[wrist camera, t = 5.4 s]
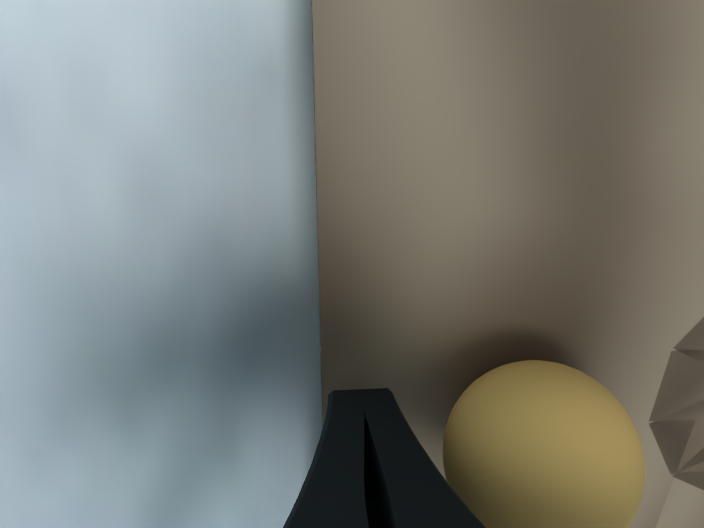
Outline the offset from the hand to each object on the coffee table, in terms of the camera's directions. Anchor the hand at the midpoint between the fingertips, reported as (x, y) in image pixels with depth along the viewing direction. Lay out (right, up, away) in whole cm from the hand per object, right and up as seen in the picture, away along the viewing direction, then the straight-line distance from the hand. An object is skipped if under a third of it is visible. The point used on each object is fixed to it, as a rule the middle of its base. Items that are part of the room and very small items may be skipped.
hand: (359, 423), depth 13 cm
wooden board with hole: (+8, +1, +3) cm, 8 cm away
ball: (+4, 0, -1) cm, 4 cm away
